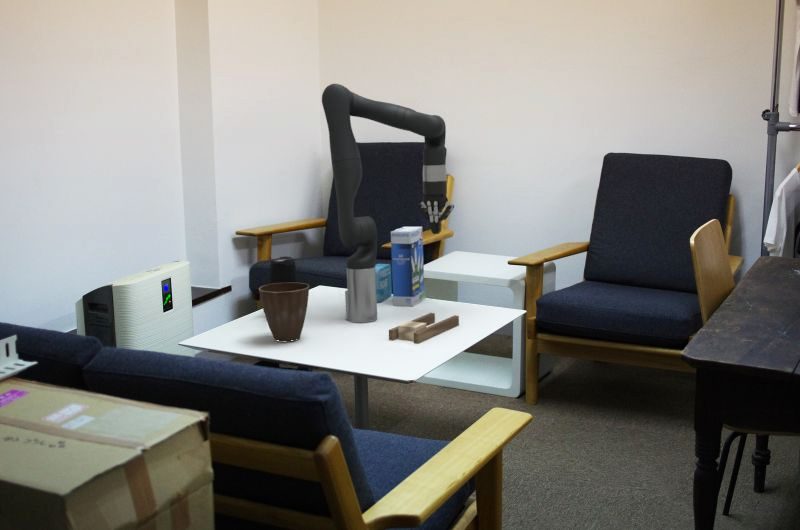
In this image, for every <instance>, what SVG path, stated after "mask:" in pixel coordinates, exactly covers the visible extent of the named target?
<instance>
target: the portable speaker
mask: <svg viewBox="0 0 800 530" xmlns="http://www.w3.org/2000/svg"><path fill="white" fill-rule="evenodd" d="M269 263H270V264H269V271H268V282H269V284H275V283H287V282H295V283H299V281H298V280H299V279H298V278H299V277H298V272H297V267H296V262H295V259H294V258H293V257H291V256H286V255H285V256H279V257H277V258H270V260H269ZM269 284H268V285H269Z"/></svg>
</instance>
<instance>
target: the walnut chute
mask: <svg viewBox="0 0 800 530" xmlns="http://www.w3.org/2000/svg"><path fill="white" fill-rule="evenodd" d="M411 321H412V322H421V323H426V328H424V329H422V330H420V331H418V332H415V333H414V341H413V344H417V345H419V344H421V343H424V342H425V341H428V340H430V339H432V338H434V337H436V336H439V335H441V334H443V333H445V332H447V331H449V330H451V329H453V328H456V327H458V326H460V316H459V315H455V314H454V315H453V316H450V317H447V318H445V319H443V320H440V321H438V322H436V313H434V312H429V313H427V314H425V315H422V316H419V317H417V318H415V319H412V320H411ZM388 340H389V341H395V340H399V336H398V326H395V327H393V328H391V329H388Z"/></svg>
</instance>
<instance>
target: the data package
mask: <svg viewBox="0 0 800 530" xmlns="http://www.w3.org/2000/svg"><path fill="white" fill-rule="evenodd" d="M375 272H376V295H377V303H382V302H384V301H386V300H388V299H389V298H391V297H392V296H393V282H392V265H391V264H390V263H377V264H375Z"/></svg>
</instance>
